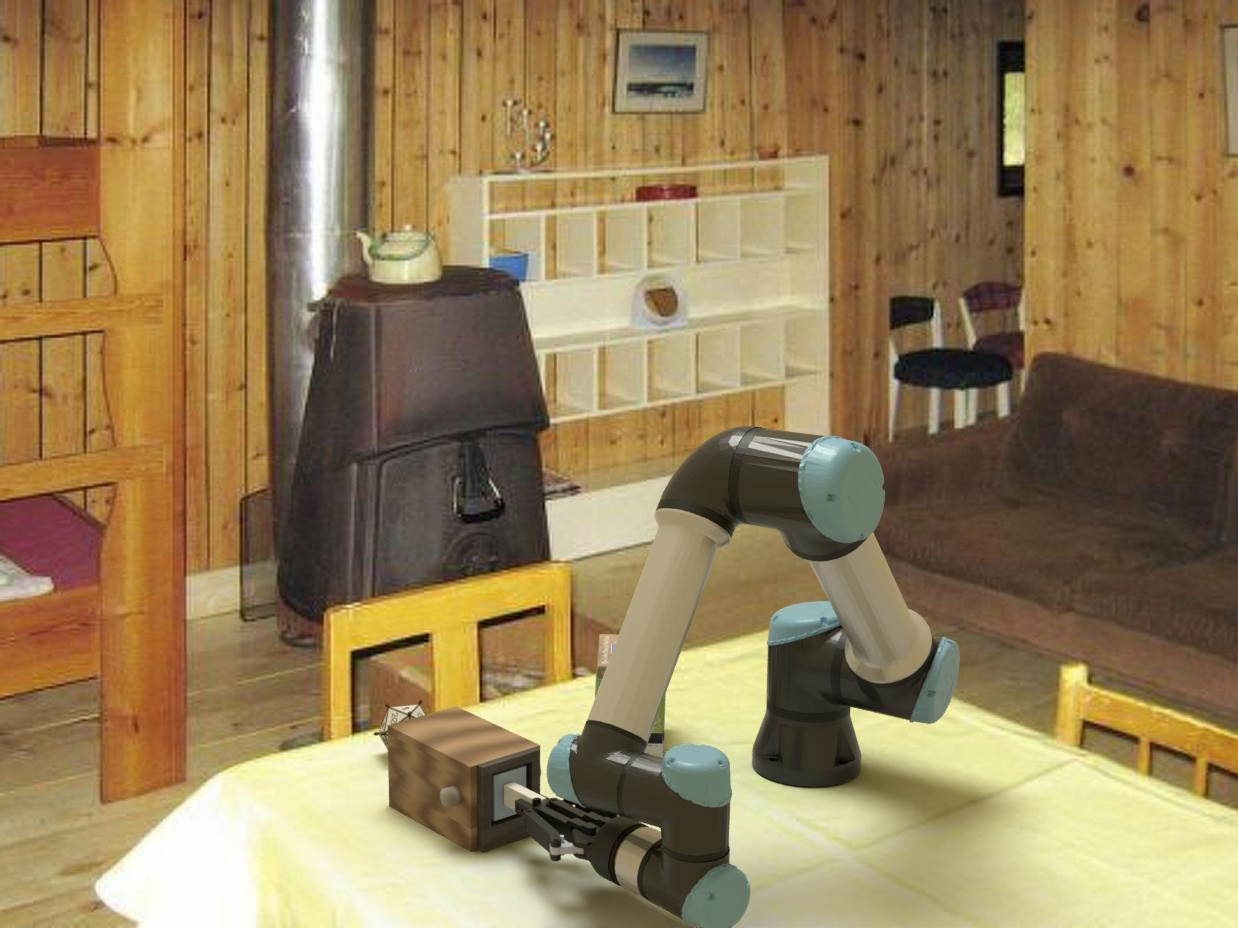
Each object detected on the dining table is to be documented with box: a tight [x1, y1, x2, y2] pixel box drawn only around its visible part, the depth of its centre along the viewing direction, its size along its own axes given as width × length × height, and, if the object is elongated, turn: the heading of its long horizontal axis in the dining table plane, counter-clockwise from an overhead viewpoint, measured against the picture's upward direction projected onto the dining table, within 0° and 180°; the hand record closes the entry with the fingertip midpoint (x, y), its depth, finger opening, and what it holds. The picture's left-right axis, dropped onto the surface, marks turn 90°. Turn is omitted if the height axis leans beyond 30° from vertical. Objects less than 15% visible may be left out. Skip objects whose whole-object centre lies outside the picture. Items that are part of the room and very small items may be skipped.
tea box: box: [594, 633, 666, 757], centre depth 252 cm, size 15×10×15 cm
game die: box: [372, 698, 426, 751], centre depth 248 cm, size 9×8×10 cm
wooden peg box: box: [387, 705, 542, 853], centre depth 228 cm, size 19×14×11 cm
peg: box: [491, 764, 526, 821], centre depth 227 cm, size 15×5×6 cm, turn 42°
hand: (508, 793), depth 220 cm, fingers closed
